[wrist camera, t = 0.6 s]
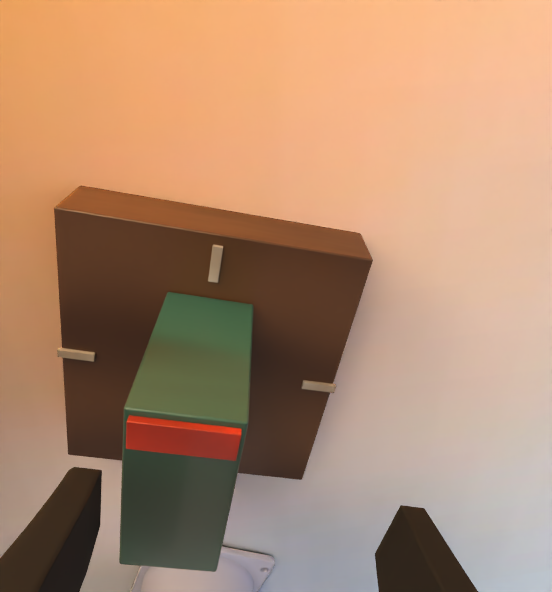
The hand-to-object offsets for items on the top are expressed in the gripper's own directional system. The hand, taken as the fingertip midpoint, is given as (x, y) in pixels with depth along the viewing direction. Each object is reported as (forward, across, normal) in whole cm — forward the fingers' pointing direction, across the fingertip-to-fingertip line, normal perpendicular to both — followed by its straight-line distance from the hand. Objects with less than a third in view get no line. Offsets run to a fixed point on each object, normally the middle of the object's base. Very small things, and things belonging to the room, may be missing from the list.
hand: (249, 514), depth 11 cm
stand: (+10, +2, +2) cm, 11 cm away
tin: (+8, +2, +2) cm, 8 cm away
